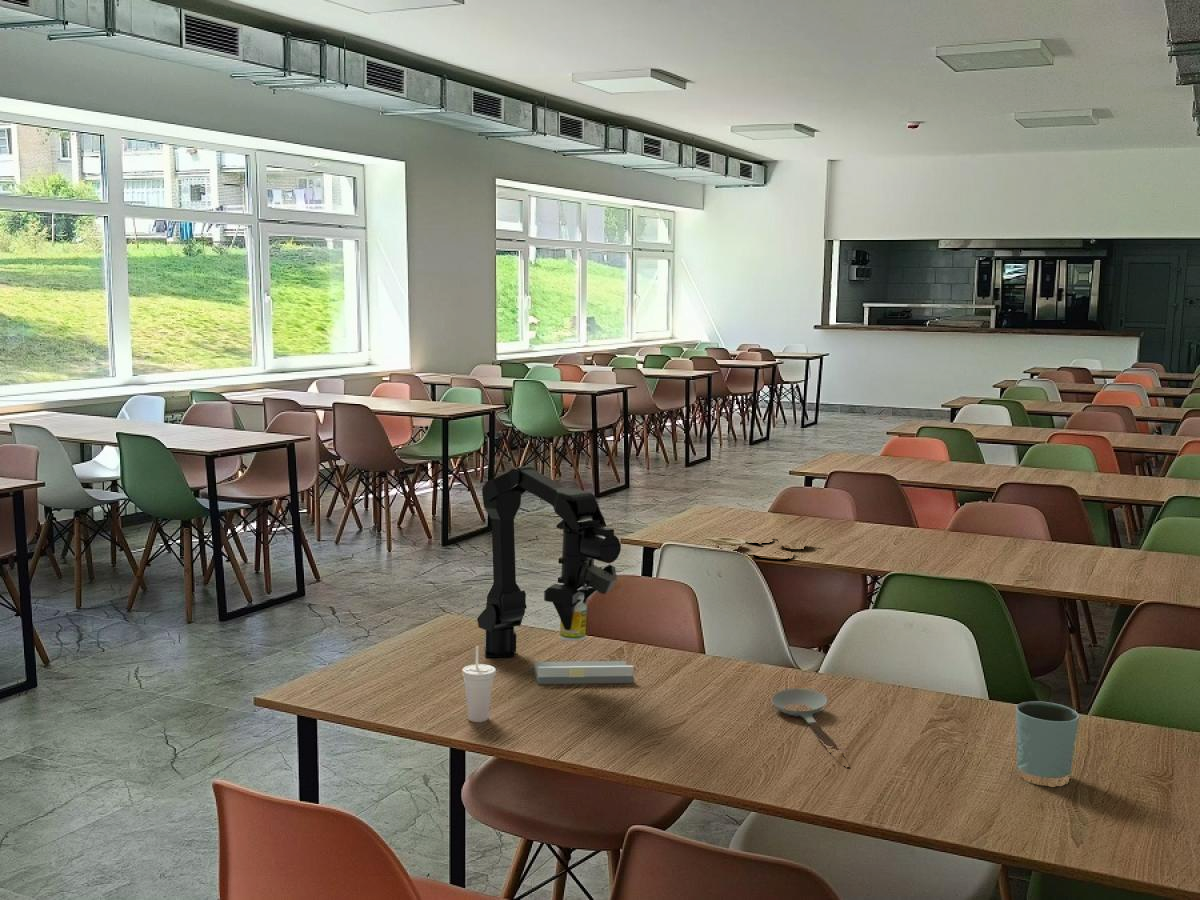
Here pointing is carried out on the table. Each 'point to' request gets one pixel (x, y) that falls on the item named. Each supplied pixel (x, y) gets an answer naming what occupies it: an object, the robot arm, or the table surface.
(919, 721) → the table surface
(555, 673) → the grey panel
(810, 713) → the grey frying pan
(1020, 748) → the grey-green cup
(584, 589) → the robot arm
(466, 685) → the smoothie
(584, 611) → the supplement bottle
